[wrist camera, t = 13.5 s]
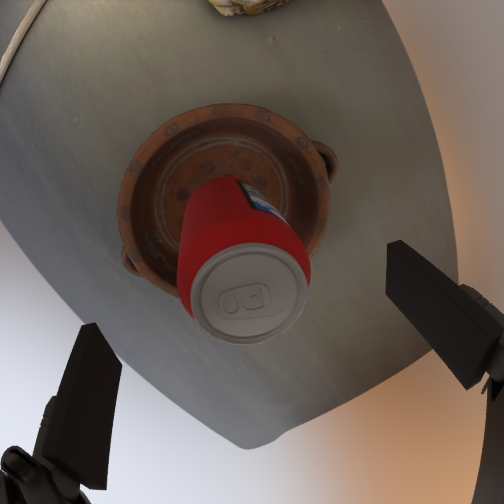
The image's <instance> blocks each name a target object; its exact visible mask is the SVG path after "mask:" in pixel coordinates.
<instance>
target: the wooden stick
mask: <svg viewBox="0 0 504 504" xmlns="http://www.w3.org/2000/svg"><path fill="white" fill-rule="evenodd" d="M45 1H46V0H35V1H34V3H33V4H32V6H31V7H30V9H29V11H28V12H27V14H26V15H25V17H24V19H23V20H22V22H21V24H20V25H19V27H18V29H17V31H16V32H15V34H14V36H13V38H12V40H11V41H10V43H9V45H8V47H7V49H6V51H5V53H4V55H3V57H2V59H1V61H0V84H1V81H2V79H3V77H4V74H5V72H6V70H7V68H8V66H9V64H10V62H11V60H12V58H13V56H14V54H15V52H16V50H17V48H18V46H19V44H20V42H21V40H22V39H23V37H24V35H25V33H26V31H27V30H28V28H29V26H30V25H31V23H32V21H33V20H34V18H35V17H36V15H37V13H38V12H39V10H40V9H41V7H42V6H43V4H44V3H45Z"/></svg>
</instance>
